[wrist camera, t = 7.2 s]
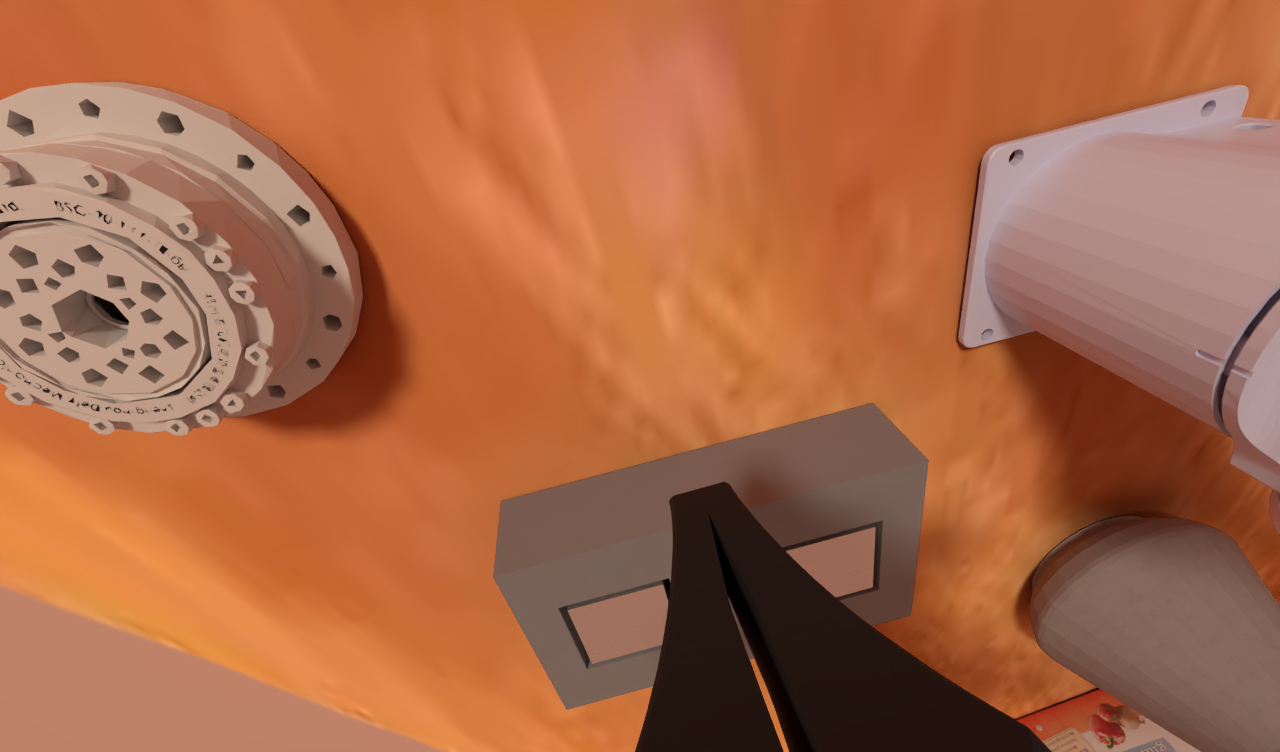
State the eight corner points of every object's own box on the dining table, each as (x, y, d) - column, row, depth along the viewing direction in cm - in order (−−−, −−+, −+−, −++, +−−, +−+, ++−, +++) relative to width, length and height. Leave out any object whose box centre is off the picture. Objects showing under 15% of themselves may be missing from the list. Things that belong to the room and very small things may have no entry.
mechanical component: (186, 435, 20) (426, 329, 19) (101, 524, 16) (397, 394, 15) (-111, 175, 14) (205, 15, 14) (-343, 213, 11) (78, -3, 10)
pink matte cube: (833, 467, 25) (875, 526, 22) (834, 526, 27) (872, 587, 24) (751, 489, 25) (781, 552, 22) (758, 546, 27) (787, 610, 24)
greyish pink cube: (648, 517, 25) (663, 584, 21) (663, 572, 27) (679, 640, 24) (564, 540, 24) (567, 610, 21) (586, 592, 27) (591, 663, 23)
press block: (873, 402, 24) (928, 460, 20) (867, 549, 29) (910, 615, 25) (500, 501, 23) (493, 576, 20) (564, 632, 28) (566, 709, 25)
